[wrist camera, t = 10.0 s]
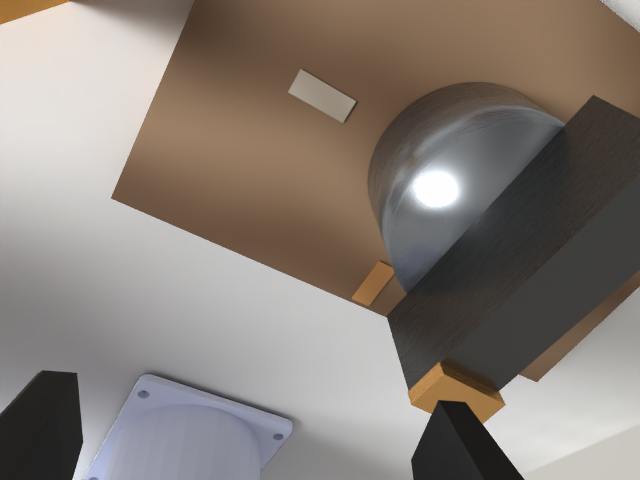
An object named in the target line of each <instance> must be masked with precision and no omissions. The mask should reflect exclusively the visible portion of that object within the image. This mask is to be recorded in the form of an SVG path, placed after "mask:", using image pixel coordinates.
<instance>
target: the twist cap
mask: <svg viewBox="0 0 640 480" xmlns="http://www.w3.org/2000/svg"><path fill="white" fill-rule="evenodd" d="M367 185H368V196H369V200H370V204H371V207H372V210H373V213H374V216H375V219H376V221H377V224H378V227H379V230H380V233H381V236H382V239H383V241H384V244H385V247H386V250H387V253H388V256H389V258H390V261H391V264H392V267H393V270H394V272H395V275H396V277H397V280H398V281H399V283H400V285H401V286H402V288H403V290H404V291H405V292H406V293H407V295H406V296H405V297H404V298H403V299H402V300H401V301H400V302H399V303H398V304H397V305H396V306H395V307H394V309H393V310H392V311H391V312H390V313H389V314H388V315H387V319H388V322H389V325H390V329H391V332H392V336H393V339H394V343H395V346H396V349H397V353H398V356H399V360H400V363H401V367H402V370H403V373H404V377H405V380H406V384H407V387H408V390H409V391H408V395H409V398H410V402H411V405H413V406H416V407H418V408H420V409H422V410H424V411H426V412H429V413H431V414H432V413H433V410H434V408H435V406H436V404H437V402H438V400H447V401H461V402H466V403H467V404H468V406H469V407H470V408H471V410H472V411H473V412H474V414H475V415H476V416H477V418H478V419H479V420H480V422H481V423H482V424H483V423H484V422H486V421H487V420H488V419H489V418H490V417H491V416H493V415H494V414H495V413H496V412H497V411H499V410H500V409H501V408H502V407H503V406H505V403H504V401H503V399H502V397H501V395H500V393H499V392H498V391H499V390H501V389H502V388H503V387H504V386H505V385H506V384H508V383H509V382H510V381H511V380H512V379H513V378H515V377H516V376H517V375H518V374H519V373H520V372H522V371H523V370H524V369H525V368H526V367H527V366H529V365H530V364H531V363H532V362H533V361H534V360H536V359H537V358H538V357H539V356H540V355H541V354H542V353H544V352H545V351H546V350H547V349H548V348H549V347H551V346H552V345H553V344H554V343H555V342H556V341H558V340H559V339H560V338H561V337H562V336H563V335H565V334H566V333H567V332H568V331H569V330H570V329H572V328H573V327H574V326H575V325H576V324H577V323H579V322H580V321H581V320H582V319H583V318H584V317H586V316H587V315H588V314H589V313H590V312H591V311H593V310H594V309H595V308H596V307H597V306H598V305H599V304H601V303H602V302H603V301H604V300H605V299H606V298H608V297H609V296H610V295H611V294H612V293H613V292H615V291H616V290H617V289H618V288H619V287H620V286H622V285H623V284H624V283H625V282H626V281H627V280H629V279H630V278H631V277H632V276H633V275H634V274H636V273H637V272H638V271H639V270H640V118H638V117H636V116H634V115H632V114H630V113H628V112H626V111H624V110H622V109H620V108H618V107H616V106H615V105H613V104H611V103H609V102H607V101H605V100H603V99H601V98H599V97H597V96H595V95H592V97H591V98H590V99H589V100H588V101H587V102H586V103H585V104H584V105H583V106H582V107H581V108H580V109H579V110H578V112H577V113H576V114H575V115H574V116H573V117H572V118H571V119H570V120H569V121H568V122H567V123H566V124H565V123H563V122H561V121H560V120H558V119H557V118H555V117H554V116H552V115H551V114H549V113H548V112H546V111H545V110H543V109H542V108H540V107H539V106H537V105H536V104H534V103H533V102H531V101H530V100H528V99H527V98H525V97H524V96H522V95H520V94H519V93H517V92H515V91H513V90H511V89H509V88H507V87H504V86H501V85H497V84H493V83H486V82H465V83H457V84H453V85H449V86H445V87H442V88H440V89H437V90H435V91H432V92H430V93H428V94H426V95H424V96H422V97H421V98H419V99H417V100H416V101H414V102H413V103H412V104H410V105H409V106H407V107H406V108H405V109H404V110H403V111H402V112H401V113H400V114H398V115H397V116H396V117H395V119H394V120H393V121H392V122H391V123H390V124H389V126H388V127H387V128H386V130H385V131H384V133H383V134H382V136H381V137H380V139H379V141H378V143H377V145H376V147H375V149H374V152H373V155H372V157H371V161H370V165H369V170H368V180H367Z"/></svg>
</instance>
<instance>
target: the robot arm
mask: <svg viewBox="0 0 640 480" xmlns="http://www.w3.org/2000/svg"><path fill="white" fill-rule="evenodd" d="M143 391H147V392H143ZM292 431H293V423H292V422H291V421H290V420H288V419H286V418H283V417H280V416H277V415H274V414H271V413H268V412H265V411H262V410H259V409H255V408H252V407H249V406H246V405H243V404H240V403H237V402H234V401H231V400H228V399H225V398H222V397H219V396H216V395H213V394H210V393H207V392H204V391H201V390H198V389H195V388H191V387H188V386H185V385H182V384H179V383H176V382H173V381H170V380H167V379H164V378H161V377H158V376H155V375H151V374H146V375H142V376H141V377H140V378H139V379H138V381H137V382H136V384H135V386H134V388H133V390H132V391H131V393H130V395H129V397H128V398H127V400H126V402H125V404H124V406H123V407H122V409H121V411H120V413H119V415H118V416H117V418H116V420H115V422H114V424H113V425H112V427H111V429H110V431H109V432H108V434H107V436H106V438H105V440H104V441H103V443H102V445H101V447H100V449H99V450H98V452H97V454H96V456H95V458H94V459H93V461H92V463H91V465H90V466H89V468H88V470H87V472H86V474H85V475H84V477H83V479H82V480H260V472H261V470H262V469H263V468H264V467H265V465H266V464H267V463H268V462H269V460H270V459H271V458H272V457H273V455H274V454H275V453H276V452H277V451H278V449H279V448H280V447H281V446H282V444H283V443H284V442H285V441H286V439H287V438H288V437H289V436H290V434H291V433H292ZM278 433H279V434H278ZM82 444H83V435H82V424H81V413H80V401H79V390H78V379H77V373H71V372H57V371H44V370H43V371H41V372H40V373H38V374H37V375H36V376H35V377H34V378H33V379H32V380H31V381H30V382H29V383H28V385H27V386H26V387H25V388H24V389H23V390H22V391H21V392H20V393H19V394H18V396H17V397H16V398H15V399H14V400H13V401H12V402H11V403H10V404H9V405H8V406H7V407H6V408H5V410H4V411H3V412H2V413H1V414H0V480H72V478H73V475H74V472H75V468H76V465H77V462H78V458H79V455H80V451H81V448H82ZM411 462H412V470H413V478H414V480H524V478H523V477H522V476H521V475H520V473H519V472H518V471H517V469H516V468H515V467H514V465H513V464H512V463H511V462H510V460H509V459H508V458H507V456H506V455H505V454H504V452H503V451H502V450H501V448H500V447H499V446H498V444H497V443H496V442H495V440H494V439H493V438H492V436H491V435H490V434H489V432H488V431H487V430H486V428H485V427H484V426H483V424H482V423H481V422H480V420H479V419H478V418H477V416H476V415H475V414H474V412H473V411H472V410H471V408H470V407H469V406H468V404H467V403H466V402H461V401H447V400H438V402H437V404H436V406H435V408H434V410H433V413H432V415H431V417H430V419H429V422H428V424H427V426H426V428H425V430H424V433H423V435H422V437H421V439H420V442H419V444H418V446H417V448H416V450H415V453H414V455H413V457H412V459H411Z"/></svg>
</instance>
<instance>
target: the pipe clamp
mask: <svg viewBox="0 0 640 480" xmlns="http://www.w3.org/2000/svg"><path fill="white" fill-rule="evenodd" d="M69 1H70V0H0V24H3V23H6V22H9V21H12V20H15V19H18V18H21V17H24V16H27V15H30V14H33V13H36V12H39V11H42V10H45V9H48V8H51V7H54V6H57V5H60V4H63V3H66V2H69Z"/></svg>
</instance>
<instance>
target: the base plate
mask: <svg viewBox="0 0 640 480" xmlns="http://www.w3.org/2000/svg"><path fill="white" fill-rule="evenodd" d="M465 82H486V83H493V84H497V85H501V86H504V87H507V88H509V89H511V90H513V91H515V92H517V93H519V94H520V95H522V96H524V97H525V98H527V99H528V100H530V101H531V102H533V103H534V104H536V105H537V106H539V107H540V108H542V109H543V110H545V111H546V112H548V113H549V114H551V115H552V116H554V117H555V118H557V119H558V120H560V121H561V122H563V123H565V124H566V123H567V122H568V121H569V120H570V119H571V118H572V117H573V116H574V115H575V114H576V113H577V112H578V110H579V109H580V108H581V107H582V106H583V105H584V104H585V103H586V102H587V101H588V100H589V99H590V98H591V97H592V95H595V96H597V97H599V98H601V99H603V100H605V101H607V102H609V103H611V104H613V105H615V106H616V107H618V108H620V109H622V110H624V111H626V112H628V113H630V114H632V115H634V116H636V117H638V118H640V33H639V32H638V31H637V30H635V29H634V28H633V27H632V26H630V25H629V24H628V23H627V22H625V21H624V20H623V19H622V18H620V17H619V16H618V15H617V14H616V13H614V12H613V11H612V10H611V9H609V8H608V7H607V6H606V5H604V4H603V3H602V2H601V1H599V0H195V2H194V4H193V7H192V9H191V11H190V14H189V16H188V19H187V21H186V23H185V26H184V28H183V30H182V33H181V35H180V37H179V40H178V42H177V44H176V47H175V49H174V51H173V54H172V56H171V58H170V61H169V63H168V65H167V68H166V70H165V72H164V75H163V77H162V79H161V82H160V84H159V87H158V89H157V91H156V94H155V96H154V98H153V101H152V103H151V105H150V108H149V110H148V112H147V115H146V117H145V119H144V122H143V124H142V126H141V129H140V131H139V133H138V136H137V138H136V140H135V143H134V145H133V148H132V150H131V152H130V155H129V157H128V159H127V162H126V164H125V166H124V169H123V171H122V173H121V176H120V178H119V180H118V183H117V185H116V187H115V190H114V192H113V194H112V197H111V199H114V200H116V201H118V202H121V203H123V204H125V205H128V206H130V207H132V208H134V209H137V210H139V211H141V212H144V213H146V214H148V215H151V216H153V217H155V218H158V219H160V220H162V221H165V222H167V223H169V224H172V225H174V226H176V227H179V228H181V229H183V230H185V231H188V232H190V233H192V234H195V235H197V236H199V237H202V238H204V239H206V240H209V241H211V242H213V243H216V244H218V245H220V246H223V247H225V248H227V249H229V250H232V251H234V252H236V253H239V254H241V255H243V256H246V257H248V258H250V259H253V260H255V261H257V262H260V263H262V264H264V265H267V266H269V267H271V268H274V269H276V270H278V271H280V272H283V273H285V274H287V275H290V276H292V277H294V278H297V279H299V280H301V281H304V282H306V283H308V284H311V285H313V286H315V287H318V288H320V289H322V290H325V291H327V292H329V293H331V294H334V295H336V296H338V297H341V298H343V299H345V300H348V301H350V302H352V303H355V304H357V305H359V306H362V307H364V308H366V309H369V310H371V311H373V312H375V313H378V314H380V315H382V316H385V317H387V315H388V314H389V313H390V312H391V311H392V310H393V309H394V307H395V306H396V305H397V304H398V303H399V302H400V301H401V300H402V299H403V298H404V297H405V296H406V295H407V293H406V292H405V291H404V290H403V288H402V286H401V285H400V283H399V281H398V280H397V277H396V275H395V272H394V270H393V267H392V264H391V261H390V258H389V256H388V253H387V250H386V247H385V244H384V241H383V239H382V236H381V233H380V230H379V227H378V224H377V221H376V219H375V216H374V213H373V210H372V207H371V204H370V200H369V196H368V185H367V180H368V170H369V165H370V161H371V157H372V155H373V152H374V149H375V147H376V145H377V143H378V141H379V139H380V137H381V136H382V134H383V133H384V131H385V130H386V128H387V127H388V126H389V124H390V123H391V122H392V121H393V120H394V119H395V117H396V116H397V115H398V114H400V113H401V112H402V111H403V110H404V109H405V108H406V107H407V106H409V105H410V104H412V103H413V102H414V101H416V100H417V99H419V98H421V97H422V96H424V95H426V94H428V93H430V92H432V91H435V90H437V89H440V88H442V87H445V86H449V85H453V84H457V83H465ZM639 286H640V270H639V271H638V272H637V273H636V274H634V275H633V276H632V277H631V278H630V279H629V280H627V281H626V282H625V283H624V284H623V285H622V286H620V287H619V288H618V289H617V290H616V291H615V292H613V293H612V294H611V295H610V296H609V297H608V298H606V299H605V300H604V301H603V302H602V303H601V304H599V305H598V306H597V307H596V308H595V309H594V310H593V311H591V312H590V313H589V314H588V315H587V316H586V317H584V318H583V319H582V320H581V321H580V322H579V323H577V324H576V325H575V326H574V327H573V328H572V329H570V330H569V331H568V332H567V333H566V334H565V335H563V336H562V337H561V338H560V339H559V340H558V341H556V342H555V343H554V344H553V345H552V346H551V347H549V348H548V349H547V350H546V351H545V352H544V353H542V354H541V355H540V356H539V357H538V358H537V359H536V360H534V361H533V362H532V363H531V364H530V365H529V366H527V367H526V368H525V369H524V370H523V371H522V372H520V373H519V375H521V376H524V377H526V378H528V379H531V380H533V381H535V382H538V381H539V380H540V379H541V378H542V377H543V376H544V375H545V374H546V373H547V372H548V371H549V370H550V369H551V368H552V367H554V366H555V365H556V364H557V363H558V362H559V361H560V360H561V359H562V358H563V357H564V356H565V355H566V354H567V353H569V352H570V351H571V350H572V349H573V348H574V347H575V346H576V345H577V344H578V343H579V342H580V341H581V340H582V339H583V338H585V337H586V336H587V335H588V334H589V333H590V332H591V331H592V330H593V329H594V328H595V327H596V326H597V325H598V324H599V323H601V322H602V321H603V320H604V319H605V318H606V317H607V316H608V315H609V314H610V313H611V312H612V311H613V310H614V309H615V308H617V307H618V306H619V305H620V304H621V303H622V302H623V301H624V300H625V299H626V298H627V297H628V296H629V295H630V294H631V293H633V292H634V291H635V290H636V289H637V288H638V287H639Z"/></svg>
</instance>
